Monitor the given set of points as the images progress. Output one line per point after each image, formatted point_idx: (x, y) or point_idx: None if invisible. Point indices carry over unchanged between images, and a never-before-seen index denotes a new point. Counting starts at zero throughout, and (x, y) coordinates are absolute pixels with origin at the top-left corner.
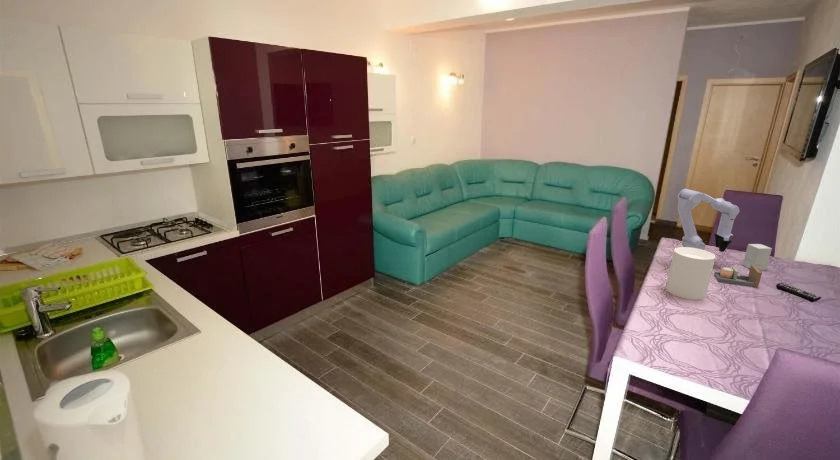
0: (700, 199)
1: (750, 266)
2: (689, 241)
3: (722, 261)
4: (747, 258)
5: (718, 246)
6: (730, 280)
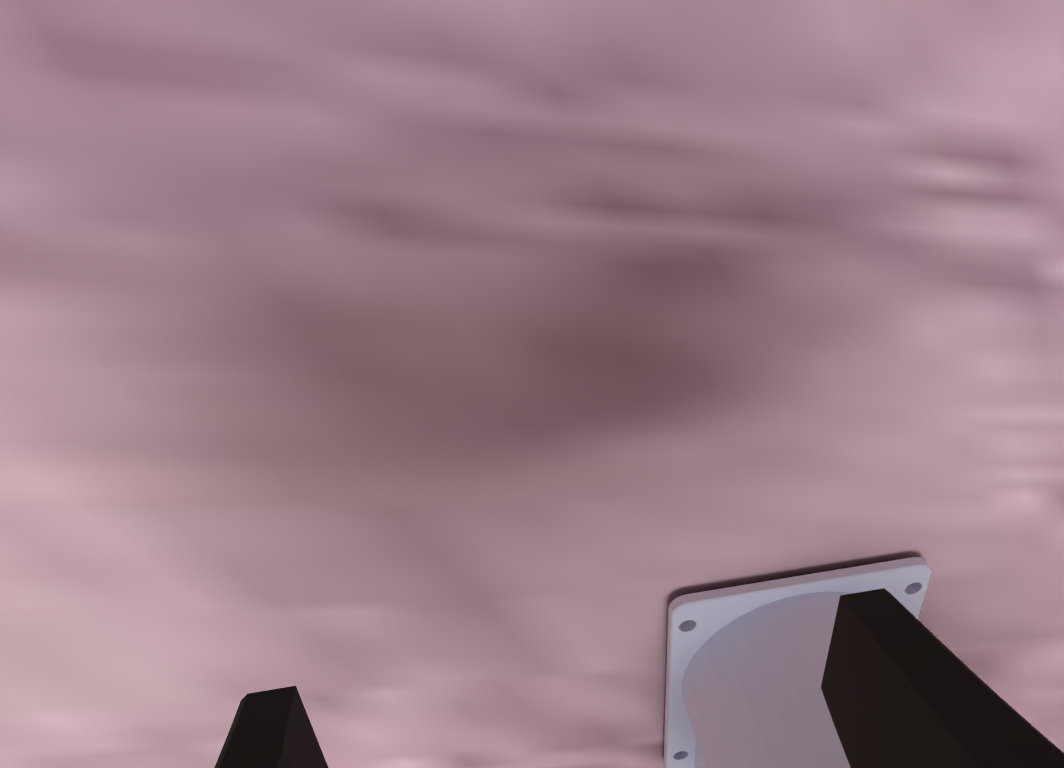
0: None
1: None
2: None
3: (69, 160)
4: None
5: (310, 753)
6: None
